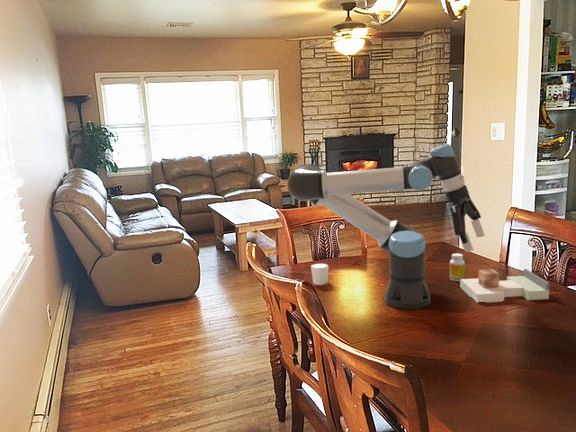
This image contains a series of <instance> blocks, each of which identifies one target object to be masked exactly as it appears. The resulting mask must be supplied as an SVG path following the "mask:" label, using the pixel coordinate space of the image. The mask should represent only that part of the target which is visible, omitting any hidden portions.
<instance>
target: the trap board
mask: <svg viewBox="0 0 576 432" xmlns="http://www.w3.org/2000/svg"><path fill="white" fill-rule="evenodd" d="M522 273H523V275H514V276H513V275H511V276H506V280H499V287H496V288H483V287H482V286H481V285H480V284H478V283H479V277H477V278H465V279H460V281H459V283H460V284H459V288H460V289H461V290H463V292H464V293H465V294H466V295H468V296H469V297H470V298H471V297H472V298H473V299H474V300H475V301H476V302H475V301H474V300H473V299H472V298H471V299H472V300H473V301H474V302H475V303H477V304H479V303H478V302H486V303H498V302H499V303H501V302H502V301H504V302H505V298H508V297H509V298H511V297H512V298H513V297H523V298H524V299H526V300H527V301H534V300H535V301H536V300H538V301H539V300H549V299H550V282H548V281H547V280H545V279H543V278H542V277H540V276H539V275H537V274H536V273H534V272H532V271H530V270H529V269H527V268H523V272H522Z"/></svg>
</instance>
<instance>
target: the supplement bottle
mask: <svg viewBox="0 0 576 432" xmlns="http://www.w3.org/2000/svg"><path fill="white" fill-rule="evenodd" d="M465 267H466V263H465V260H464V254H462V253H459V252H457V253H452V254H451V260H450V259H449V279H450V280H451V281H454V282H460V279H466V278H465V276H466V275H465V271H466V270H465V269H466V268H465Z"/></svg>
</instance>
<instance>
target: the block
mask: <svg viewBox="0 0 576 432" xmlns="http://www.w3.org/2000/svg"><path fill="white" fill-rule="evenodd" d="M478 278H479V283H478V284H480V285H481V286H482V287H483V288H496V287H499V281H500V273H499V272H497V271H496V270H495V269H493V268H490V269H489V268H488V269H479V270H478Z"/></svg>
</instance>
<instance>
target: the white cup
mask: <svg viewBox="0 0 576 432" xmlns="http://www.w3.org/2000/svg"><path fill="white" fill-rule="evenodd" d="M310 269H311V277H312V283H313V285H316V286H323V285H324V284H325V285H327V284H328V281H329V280H328V279H329V264H327V263H314V264H311V265H310Z"/></svg>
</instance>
